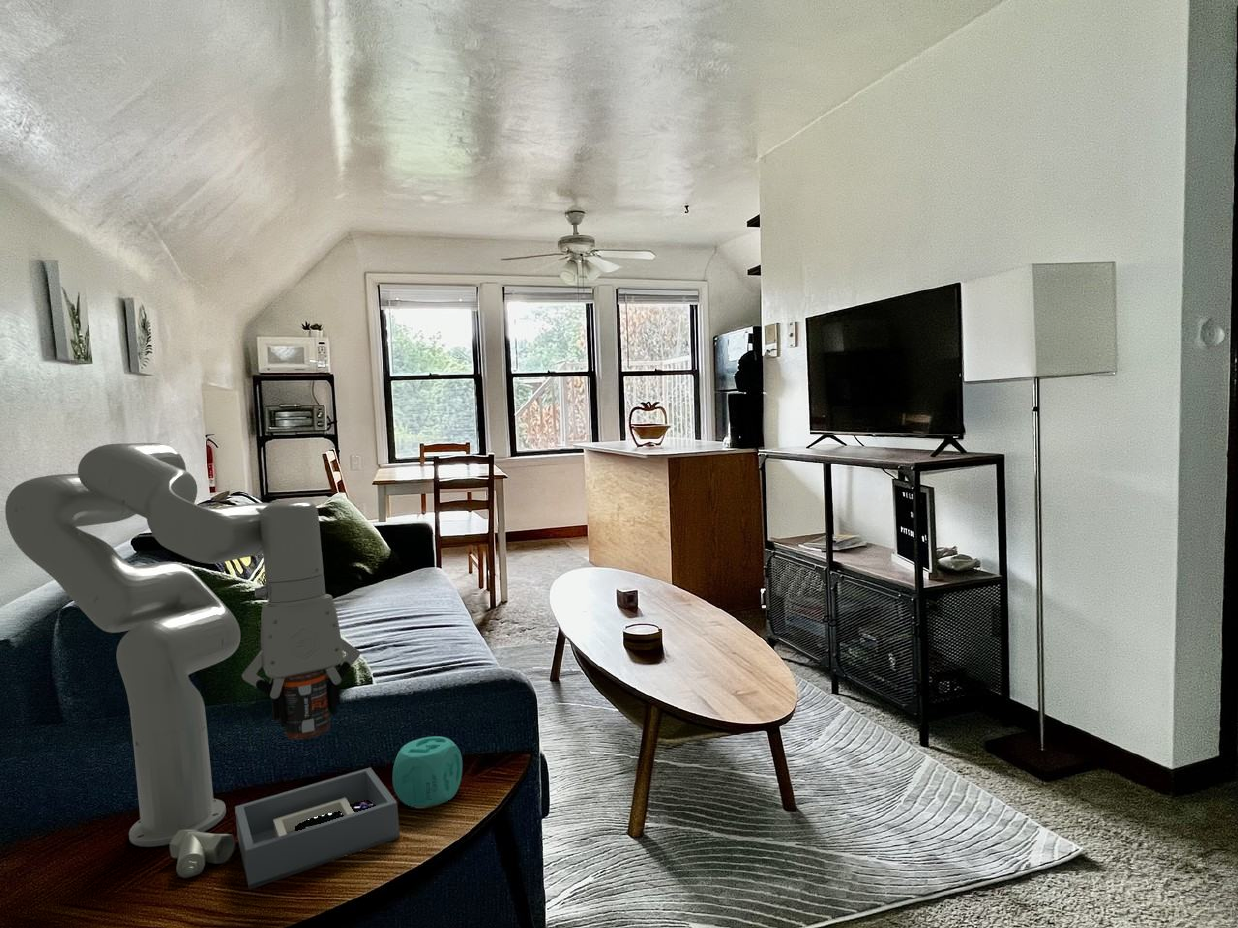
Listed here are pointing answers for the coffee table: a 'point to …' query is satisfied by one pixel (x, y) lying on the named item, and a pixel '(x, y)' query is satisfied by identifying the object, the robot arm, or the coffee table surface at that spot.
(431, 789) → the decorative dice
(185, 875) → the pipe fitting
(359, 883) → the coffee table surface
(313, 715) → the supplement bottle
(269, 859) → the box
